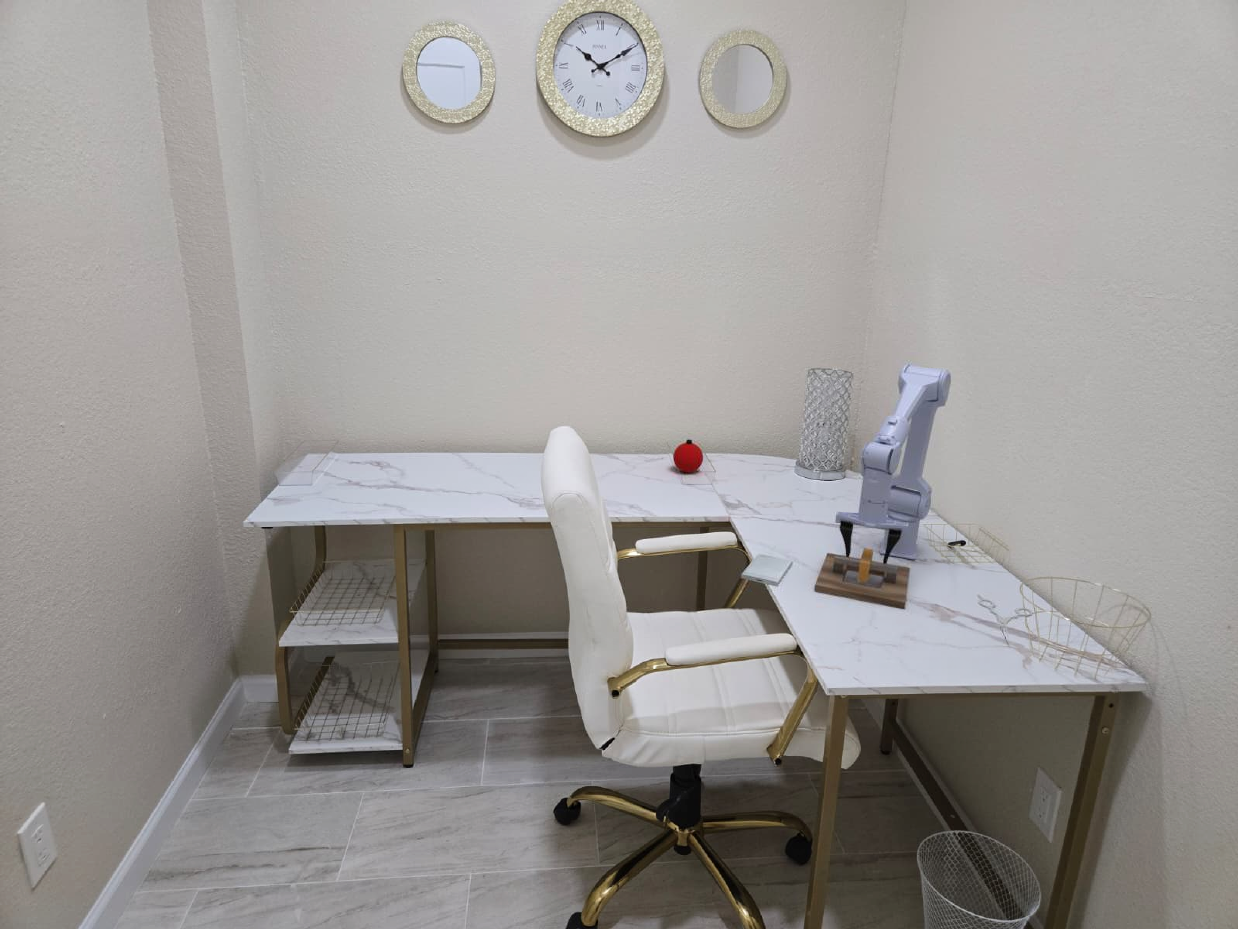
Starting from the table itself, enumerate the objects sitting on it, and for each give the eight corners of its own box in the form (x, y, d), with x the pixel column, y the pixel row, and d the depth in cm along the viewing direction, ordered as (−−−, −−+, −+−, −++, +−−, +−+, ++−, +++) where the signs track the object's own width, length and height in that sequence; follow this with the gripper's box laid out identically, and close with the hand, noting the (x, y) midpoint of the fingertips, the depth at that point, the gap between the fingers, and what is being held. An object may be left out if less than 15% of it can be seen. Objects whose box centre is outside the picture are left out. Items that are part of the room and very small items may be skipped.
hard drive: (757, 553, 182) (741, 573, 171) (793, 560, 178) (778, 581, 168) (757, 559, 182) (740, 580, 172) (792, 567, 179) (777, 588, 168)
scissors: (1033, 606, 163) (1029, 650, 146) (1032, 610, 163) (1028, 654, 146) (977, 594, 167) (967, 635, 150) (976, 597, 168) (966, 638, 151)
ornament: (694, 478, 234) (696, 445, 231) (667, 472, 238) (669, 440, 235) (707, 470, 242) (709, 438, 238) (680, 465, 246) (682, 434, 243)
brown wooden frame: (826, 558, 182) (827, 552, 182) (909, 573, 176) (910, 567, 176) (814, 591, 167) (815, 584, 166) (904, 609, 160) (905, 602, 160)
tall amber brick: (861, 566, 175) (863, 547, 174) (870, 568, 174) (873, 549, 173) (857, 581, 168) (859, 561, 166) (867, 583, 167) (869, 563, 166)
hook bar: (833, 568, 174) (835, 555, 173) (895, 580, 170) (897, 566, 169) (832, 572, 172) (834, 558, 171) (895, 583, 168) (897, 570, 167)
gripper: (836, 499, 164) (829, 559, 169) (910, 510, 159) (900, 572, 164) (841, 489, 171) (833, 547, 175) (912, 499, 166) (902, 559, 170)
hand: (866, 558), depth 170 cm, fingers open, 7 cm apart
